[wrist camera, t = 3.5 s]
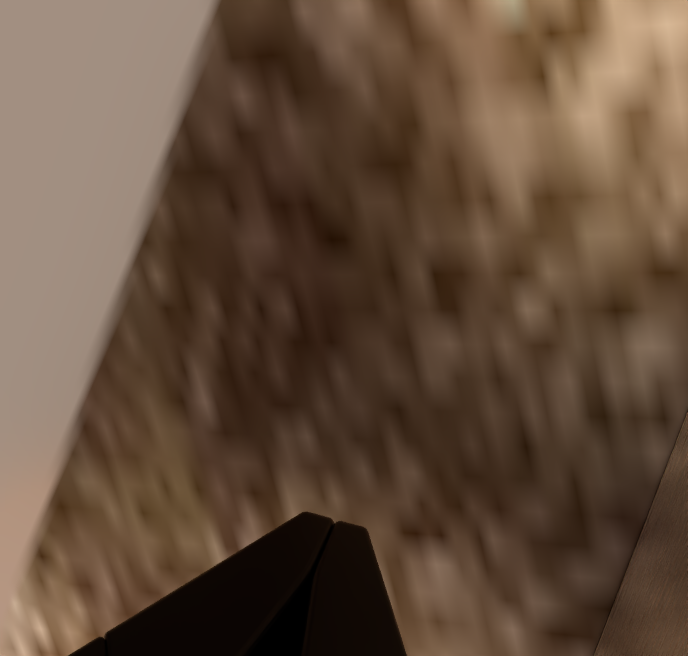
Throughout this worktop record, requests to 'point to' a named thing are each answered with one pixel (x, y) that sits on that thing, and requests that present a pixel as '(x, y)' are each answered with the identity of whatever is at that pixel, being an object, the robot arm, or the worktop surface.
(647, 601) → the channel
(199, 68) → the worktop surface
